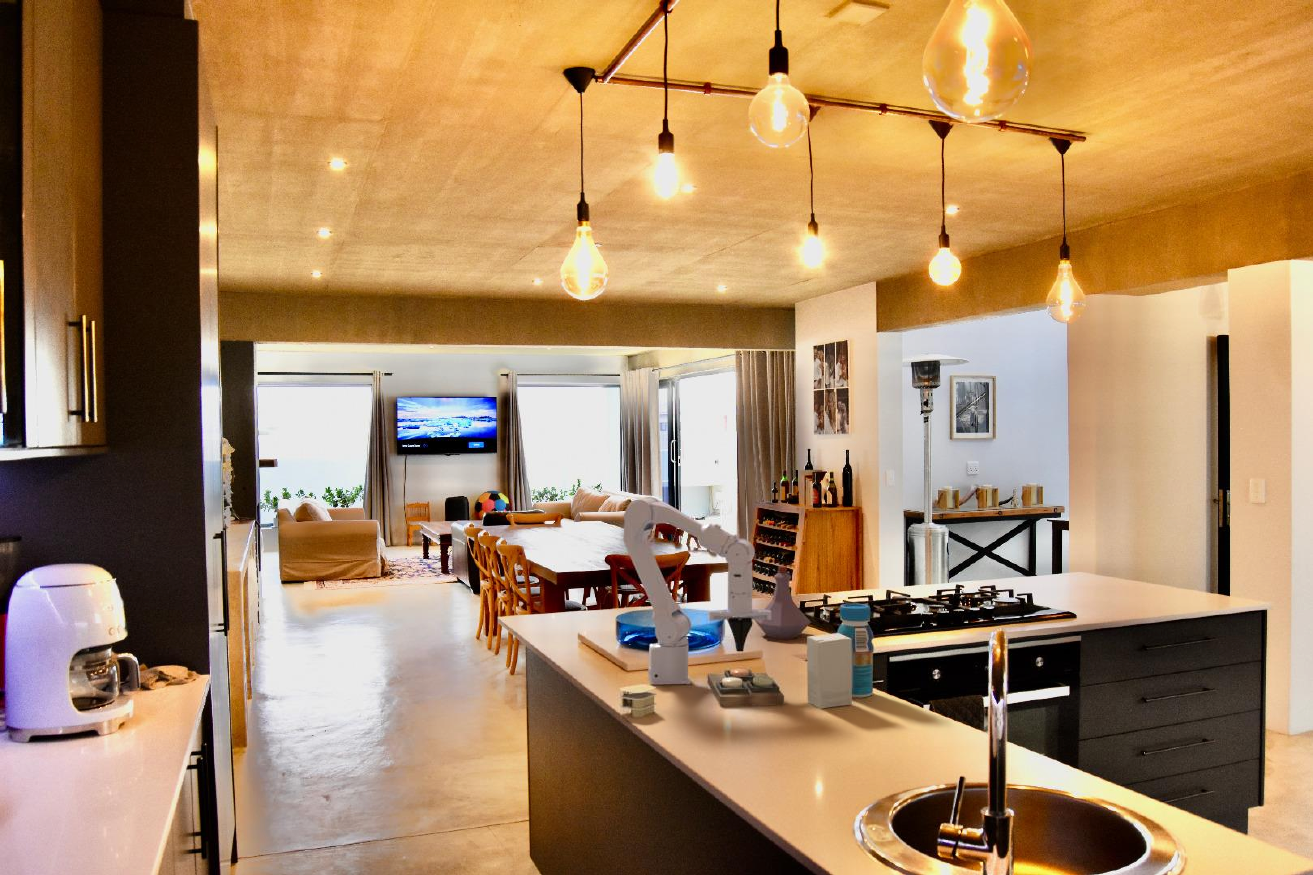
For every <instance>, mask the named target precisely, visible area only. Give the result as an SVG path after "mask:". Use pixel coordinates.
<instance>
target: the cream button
mask: <svg viewBox="0 0 1313 875" xmlns="http://www.w3.org/2000/svg"><path fill="white" fill-rule="evenodd" d="M722 686H724V687H727V688H739V687H742V679H740V678H732V677H730V678H724V679H722Z"/></svg>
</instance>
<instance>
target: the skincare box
mask: <svg viewBox="0 0 1313 875" xmlns="http://www.w3.org/2000/svg"><path fill="white" fill-rule="evenodd" d="M806 656H807V657H806V660H807V662H806V665H807V666H806V671H807V672H806V673H807V674H806V675H807V676H806V677H807V678H806V679H807V683H806V684H807V702H808V703H810V704H811V705H813V706H814V707H816V708H818V709H820V710H821V709H828V708H835V707H842V706H850V705H852V704H853V697H852V639H851V638H849V637H846V636H844V635H842V634H840V633H837V632H835V633H828V634H822V635H821V634H820V635H818V634H817V635H812V636H811V635H809V636H807V637H806Z"/></svg>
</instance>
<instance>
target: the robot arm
mask: <svg viewBox="0 0 1313 875" xmlns="http://www.w3.org/2000/svg"><path fill="white" fill-rule="evenodd" d="M622 516H623V520H624V527H623V543H624V545H625V547H626V549H627V552H628V554H629V556H630V557H629V558H630V559H631V561H632V564H633V566H634V568H635V571H636V573H637V575H638V578H639V580H640V581H641V584H642V586H643V589H644V591H645V593H646V596H647V597H648V600H649V602H650V605H651V608H652V620H653V624H654V626H655V627H654V628H655V630H654V632H655V637H656V639H657V642H656V643H649V646H648V647H649V648H648V650H649V651H648V667H647V670H648V671H647V672H648V673H647V674H648V679H649V681H650V685H654V686H655V685H691V684H692V680H691V678H690V676H689V640H688V638H687V636H688V635H689V633H690V632H691V629H692V622H691V619H690V617H689V616H688V615H687V614H686V613H685V612H683V610H682V609H681V606H680V605H679V603H677V602H676V601H675V600H674V598H673V596H672V594H671V592H670V590H669V587H668V585H667V583H666V581H665V578H664V576H663V574H662V571H661V569H660V567H659V564H658V563H657V560H656V557H655V556H654V553H653V551H652V549H651V546H650V544H649V542H648V538H649V535H650V533H651V531H652V528H653V527H654V526H655V525H656V524H668V525H671V526H673V527H675V528H677V529H679V530H681V531H683V532H685V533H687V534H689V535H691V536H693V537H695V538H696V539H697V541H698V544H699V546H701V547H703V548H705V549H706V550H708V551H710V552H712V553H714V554H716V556H718V557H721V558H725V560H726V562H727V564H728V569H727V570H728V572H727V609H718V610H708V614H707V615H708V620H709V621H716V620H717V621H719V620H721V621H725V620H726V621H727V623H728V626H729V628H730V630H731V633H732V636H733V640H734V644H735V650H736V652H744V649H745V648H744V647H745V644H746V640H747V637H748V634H749V633H750V630H751V629H752V627H753V624H754V623H753V620H754V619H767V620H771V611H770V610H764V609H755V608H754V609H753V562H752V560H753V559H754V557H755V554H756V553H755V552H756V550H755V547H754V545H753V544H752V543H751V542H750V541H749V540H748V539H747V538H740V537H739V535H738V534H732V533H729V532H727V531H725V530H724V529H722V525H720V524H718V523H715V524H712V523H708V524H705V525H704V524H703V523H701V522H698V521H697V520H695V519H694V518H692V517H690V516H689V515H687V514H686V513H684V512H682V511H680V510H679V509H677V508H676V507H673V506H671V505H670V504H668V503H667V502H665V501H662V500H659V499H658V498H655V497H652V496H651V497H650V496H649V497H644V498H642V499H634V500H632V501H631V502H629V504H628V505H627V507H626V509H625V511H624V513H623V515H622Z"/></svg>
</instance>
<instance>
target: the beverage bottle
mask: <svg viewBox="0 0 1313 875" xmlns="http://www.w3.org/2000/svg"><path fill="white" fill-rule="evenodd" d="M839 617H840V619H839V620H841V621H842V623H841V624H840V626H839V627H838V629H837V632H836V633H840V634H842V635H844V636H846V637H849V638H851V639H852V699H853V698H855V699H857V698H859V699H861V698H862V699H863V698H867V697H871V696H872V695H873V693H874V687H873V686H874V685H873V664H874V663H873V662H874V658H873V656H874V655H873V654H874V651H875V646H874V643H873V640H874V634H873V631H872V628H871V626H870V625H869V623H868V622H870V621H871V620H870V619H871V607H870V605H867V604H863V603H854V602H853V603H850V602H849V603H844V604H841V605H840V608H839Z"/></svg>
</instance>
